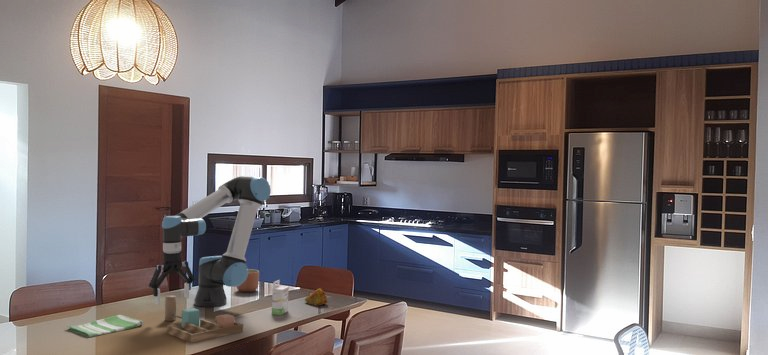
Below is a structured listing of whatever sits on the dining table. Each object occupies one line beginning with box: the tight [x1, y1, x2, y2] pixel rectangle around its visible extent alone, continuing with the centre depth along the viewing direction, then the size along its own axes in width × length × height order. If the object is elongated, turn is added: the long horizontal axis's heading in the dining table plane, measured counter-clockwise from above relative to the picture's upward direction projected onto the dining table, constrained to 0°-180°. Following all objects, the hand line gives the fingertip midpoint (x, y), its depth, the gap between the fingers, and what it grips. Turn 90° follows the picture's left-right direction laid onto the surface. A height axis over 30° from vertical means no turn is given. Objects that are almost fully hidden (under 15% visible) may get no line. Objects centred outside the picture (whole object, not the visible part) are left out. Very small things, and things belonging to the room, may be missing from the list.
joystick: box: [164, 295, 200, 328], centre depth 247 cm, size 21×5×10 cm, turn 49°
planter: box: [236, 268, 260, 293], centre depth 318 cm, size 12×12×11 cm
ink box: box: [271, 279, 290, 316], centre depth 271 cm, size 9×5×15 cm, turn 168°
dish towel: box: [66, 314, 144, 339], centre depth 238 cm, size 18×23×3 cm
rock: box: [304, 287, 328, 306], centre depth 293 cm, size 11×8×10 cm
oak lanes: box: [166, 315, 244, 343], centre depth 235 cm, size 18×23×3 cm
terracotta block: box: [216, 313, 235, 327], centre depth 238 cm, size 5×5×6 cm
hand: (172, 300), depth 253 cm, fingers open, 13 cm apart
